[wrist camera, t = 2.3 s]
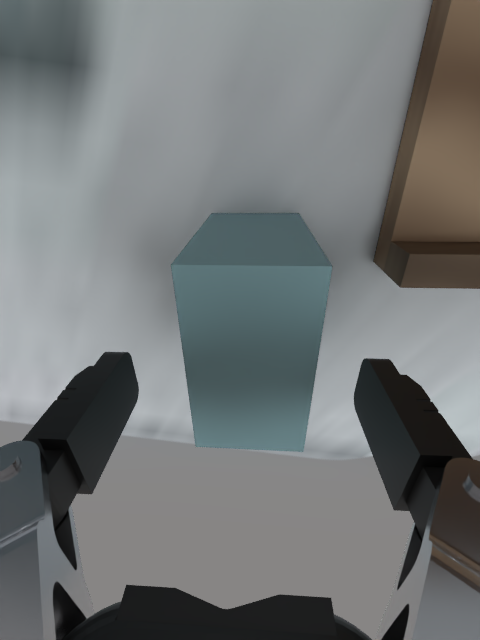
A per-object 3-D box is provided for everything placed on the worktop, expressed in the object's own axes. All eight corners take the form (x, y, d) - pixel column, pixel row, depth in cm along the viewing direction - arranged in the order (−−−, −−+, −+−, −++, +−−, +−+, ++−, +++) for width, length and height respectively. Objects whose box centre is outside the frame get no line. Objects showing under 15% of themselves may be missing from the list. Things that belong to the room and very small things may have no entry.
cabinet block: (211, 213, 15) (170, 264, 8) (298, 213, 15) (332, 266, 8) (219, 340, 19) (195, 446, 12) (287, 342, 19) (303, 451, 12)
